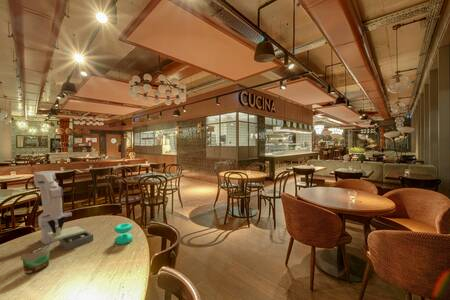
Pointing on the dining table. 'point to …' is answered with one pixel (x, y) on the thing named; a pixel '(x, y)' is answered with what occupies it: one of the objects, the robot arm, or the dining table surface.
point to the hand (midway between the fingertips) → (57, 231)
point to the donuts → (123, 237)
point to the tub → (75, 240)
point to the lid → (65, 232)
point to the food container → (36, 260)
